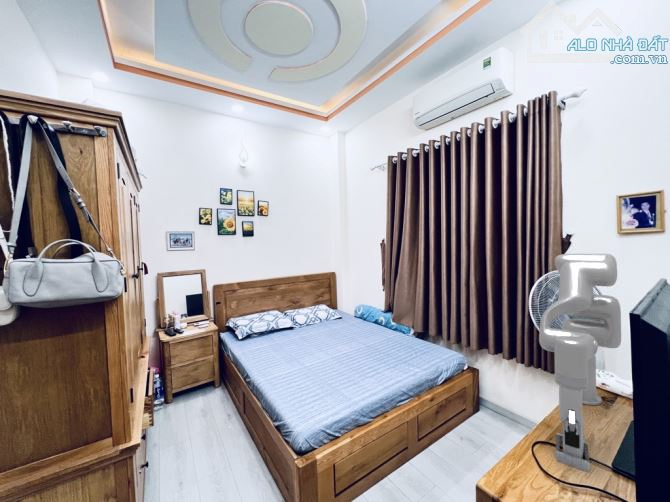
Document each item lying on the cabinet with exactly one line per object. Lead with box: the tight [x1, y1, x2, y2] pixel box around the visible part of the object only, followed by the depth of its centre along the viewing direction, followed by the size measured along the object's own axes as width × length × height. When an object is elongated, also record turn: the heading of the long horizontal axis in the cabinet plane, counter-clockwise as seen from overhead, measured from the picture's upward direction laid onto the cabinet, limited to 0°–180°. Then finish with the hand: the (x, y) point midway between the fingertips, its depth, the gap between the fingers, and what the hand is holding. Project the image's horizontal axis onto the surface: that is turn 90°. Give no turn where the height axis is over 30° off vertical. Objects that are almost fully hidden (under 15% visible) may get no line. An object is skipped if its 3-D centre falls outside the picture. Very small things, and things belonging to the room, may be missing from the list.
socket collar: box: [555, 432, 591, 473], centre depth 85 cm, size 11×7×2 cm
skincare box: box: [562, 412, 585, 460], centre depth 84 cm, size 6×4×12 cm
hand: (571, 437), depth 85 cm, fingers open, 9 cm apart
